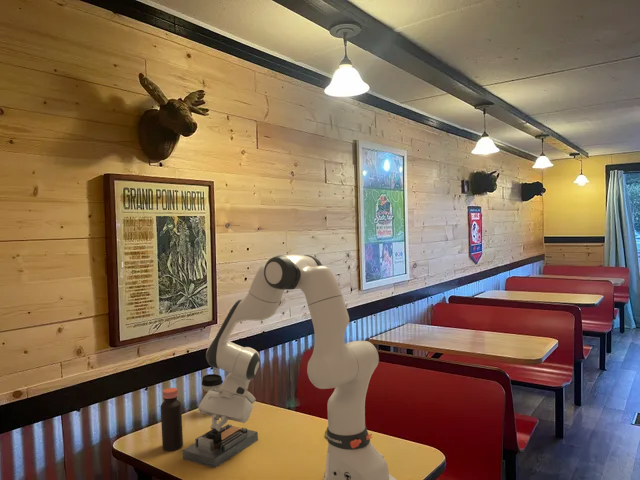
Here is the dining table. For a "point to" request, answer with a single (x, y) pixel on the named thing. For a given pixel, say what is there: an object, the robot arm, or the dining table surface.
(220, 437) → the brown and black bar
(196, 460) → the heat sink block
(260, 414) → the dining table surface
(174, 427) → the bottle
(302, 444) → the dining table surface
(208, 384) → the coffee cup
